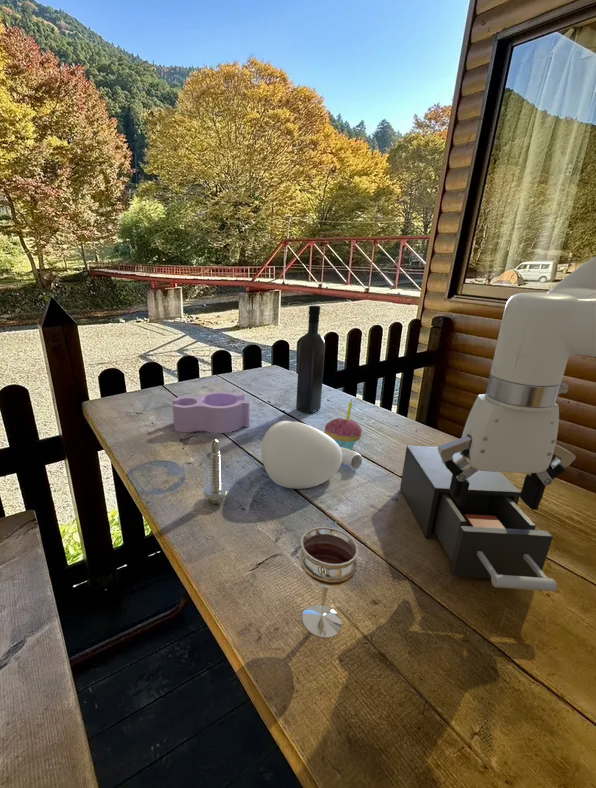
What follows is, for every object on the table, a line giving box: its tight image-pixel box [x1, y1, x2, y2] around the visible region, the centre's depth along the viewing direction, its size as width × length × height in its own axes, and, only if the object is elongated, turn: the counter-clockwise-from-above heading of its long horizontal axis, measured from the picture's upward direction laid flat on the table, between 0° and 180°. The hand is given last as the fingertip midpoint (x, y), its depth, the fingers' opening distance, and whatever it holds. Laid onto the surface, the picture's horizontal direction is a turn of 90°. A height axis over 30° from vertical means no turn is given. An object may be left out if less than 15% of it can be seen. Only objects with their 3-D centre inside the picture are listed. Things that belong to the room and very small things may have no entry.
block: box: [464, 514, 506, 529], centre depth 61 cm, size 4×4×4 cm
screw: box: [202, 438, 230, 505], centre depth 76 cm, size 13×5×5 cm
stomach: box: [260, 420, 363, 490], centre depth 90 cm, size 23×13×24 cm
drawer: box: [432, 493, 558, 592], centre depth 60 cm, size 19×11×8 cm, turn 174°
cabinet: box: [399, 445, 521, 540], centre depth 72 cm, size 15×13×10 cm
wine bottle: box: [295, 305, 326, 413], centre depth 115 cm, size 6×6×30 cm
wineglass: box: [298, 526, 359, 638], centre depth 51 cm, size 7×7×12 cm
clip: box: [172, 391, 251, 434], centre depth 110 cm, size 20×12×7 cm, turn 99°
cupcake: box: [323, 398, 363, 450], centre depth 95 cm, size 9×8×12 cm
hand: (492, 502), depth 59 cm, fingers open, 9 cm apart
